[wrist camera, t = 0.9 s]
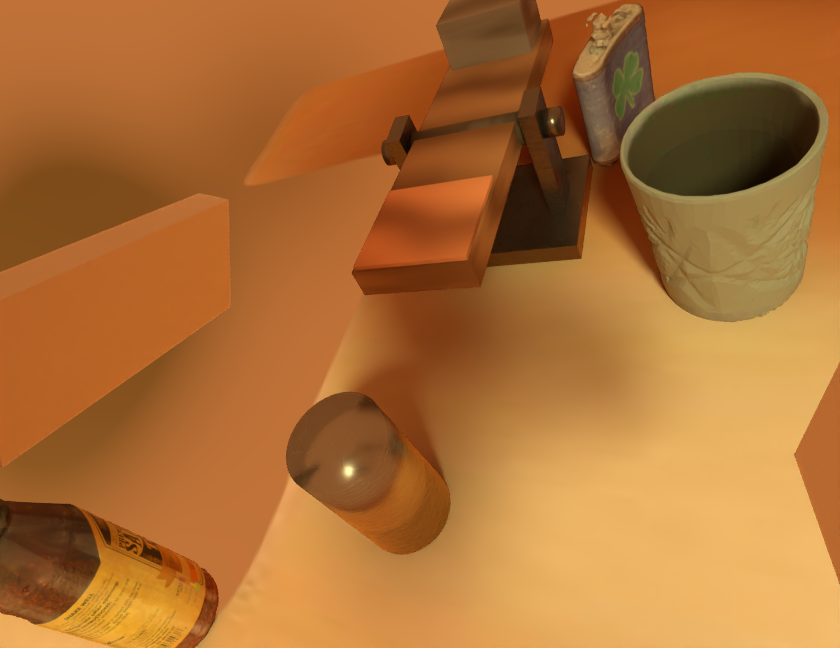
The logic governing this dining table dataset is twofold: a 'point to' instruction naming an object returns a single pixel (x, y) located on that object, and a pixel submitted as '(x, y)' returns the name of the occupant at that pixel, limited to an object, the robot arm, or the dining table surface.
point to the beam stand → (530, 189)
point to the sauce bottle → (99, 580)
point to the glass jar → (368, 473)
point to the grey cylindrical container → (728, 189)
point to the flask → (613, 79)
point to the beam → (459, 153)
